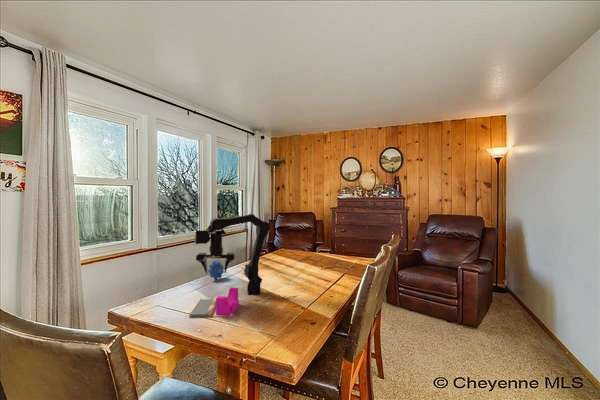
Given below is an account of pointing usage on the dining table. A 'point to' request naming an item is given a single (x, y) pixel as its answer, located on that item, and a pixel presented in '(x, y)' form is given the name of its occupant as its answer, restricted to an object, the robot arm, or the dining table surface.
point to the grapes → (216, 270)
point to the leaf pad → (217, 315)
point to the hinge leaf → (204, 308)
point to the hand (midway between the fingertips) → (215, 273)
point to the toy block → (227, 303)
